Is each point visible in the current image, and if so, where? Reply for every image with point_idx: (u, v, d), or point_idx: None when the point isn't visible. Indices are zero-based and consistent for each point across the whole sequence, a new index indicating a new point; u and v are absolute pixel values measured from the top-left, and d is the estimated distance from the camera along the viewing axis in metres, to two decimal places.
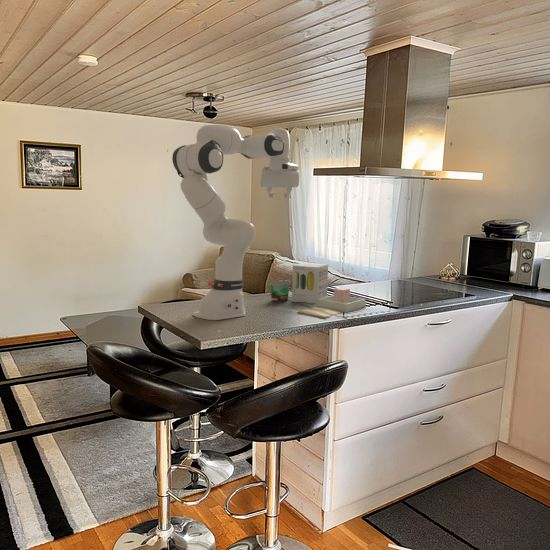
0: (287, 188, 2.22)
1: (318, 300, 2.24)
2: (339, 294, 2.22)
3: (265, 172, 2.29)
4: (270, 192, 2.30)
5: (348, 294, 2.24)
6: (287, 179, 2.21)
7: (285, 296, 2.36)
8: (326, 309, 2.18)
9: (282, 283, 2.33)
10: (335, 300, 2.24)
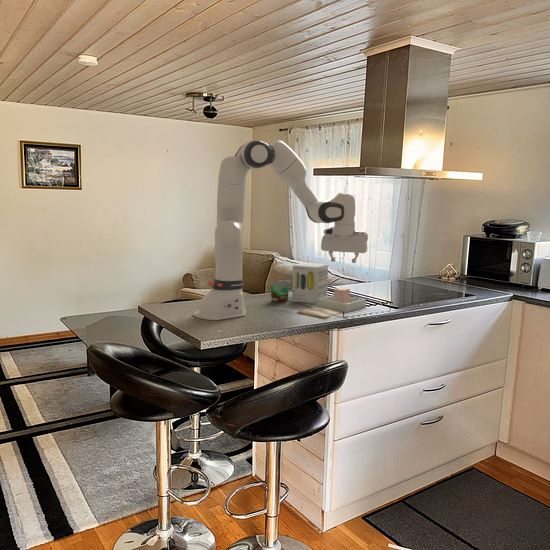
0: None
1: (318, 300, 2.24)
2: (339, 294, 2.22)
3: None
4: None
5: (348, 294, 2.24)
6: None
7: (285, 296, 2.36)
8: (326, 309, 2.18)
9: (282, 283, 2.33)
10: (335, 300, 2.24)
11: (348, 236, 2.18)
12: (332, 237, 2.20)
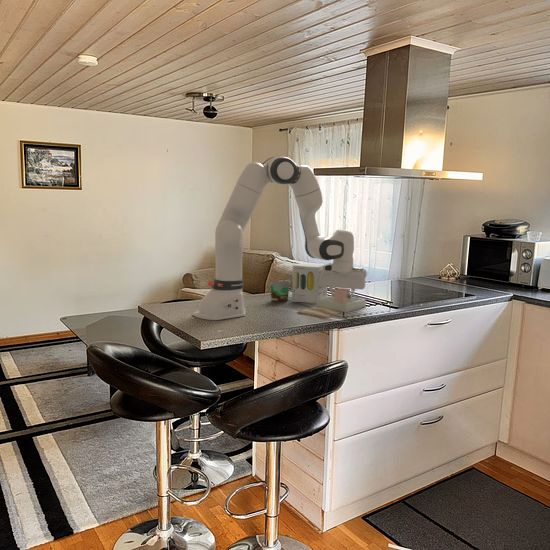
0: None
1: (318, 300, 2.24)
2: (339, 294, 2.22)
3: None
4: (351, 293, 2.23)
5: (348, 294, 2.24)
6: None
7: (285, 296, 2.36)
8: (326, 309, 2.18)
9: (282, 283, 2.33)
10: (335, 300, 2.24)
11: (347, 272, 2.20)
12: (331, 273, 2.22)
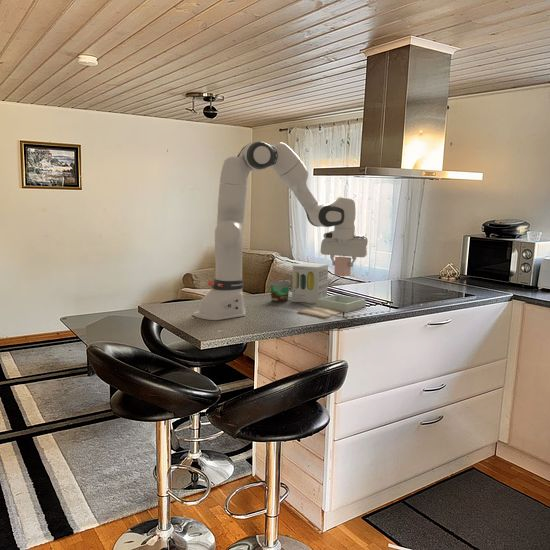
0: None
1: (318, 300, 2.24)
2: (339, 262, 2.20)
3: None
4: None
5: None
6: None
7: (285, 296, 2.36)
8: (326, 309, 2.18)
9: (282, 283, 2.33)
10: (336, 268, 2.22)
11: (348, 240, 2.18)
12: (332, 241, 2.21)
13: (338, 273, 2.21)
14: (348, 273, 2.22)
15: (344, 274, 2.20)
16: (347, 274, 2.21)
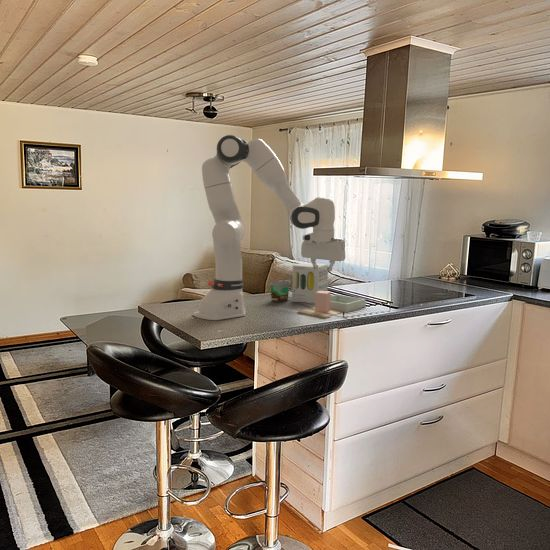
0: None
1: None
2: (321, 297, 2.12)
3: None
4: None
5: (329, 297, 2.15)
6: None
7: (285, 296, 2.36)
8: None
9: (282, 283, 2.33)
10: (317, 304, 2.14)
11: (325, 243, 2.06)
12: (310, 243, 2.10)
13: (320, 309, 2.13)
14: (329, 308, 2.15)
15: (326, 310, 2.13)
16: (328, 309, 2.15)
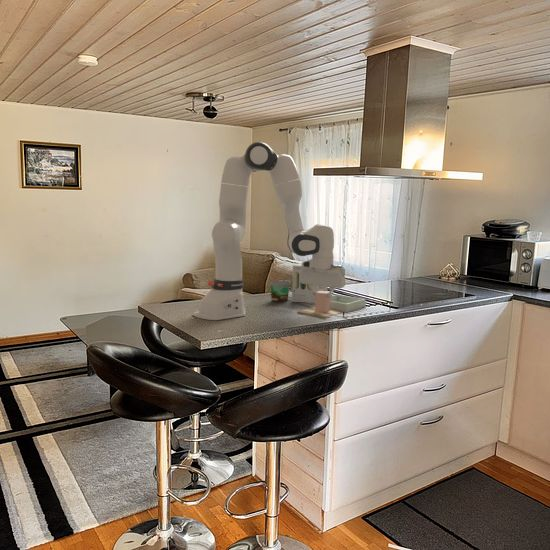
0: None
1: None
2: (321, 297, 2.12)
3: None
4: None
5: None
6: None
7: (285, 296, 2.36)
8: None
9: (282, 283, 2.33)
10: (317, 304, 2.14)
11: (325, 270, 2.08)
12: (310, 270, 2.12)
13: (320, 309, 2.13)
14: (329, 308, 2.15)
15: (326, 310, 2.13)
16: (328, 309, 2.15)
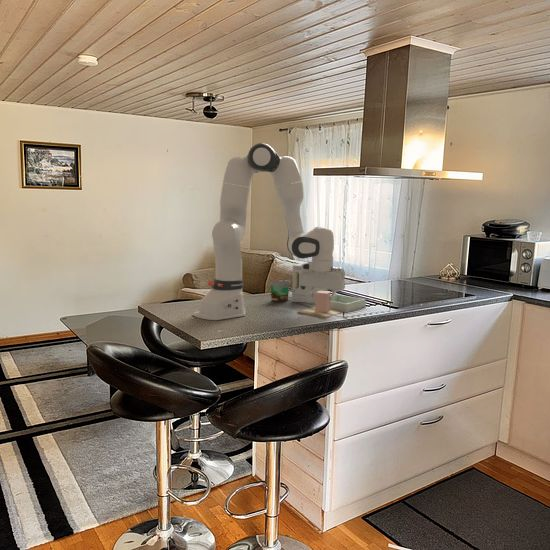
0: None
1: None
2: (321, 297, 2.12)
3: None
4: None
5: None
6: None
7: (285, 296, 2.36)
8: None
9: (282, 283, 2.33)
10: (317, 304, 2.14)
11: (325, 272, 2.08)
12: (309, 272, 2.12)
13: (320, 309, 2.13)
14: (329, 308, 2.15)
15: (326, 310, 2.13)
16: (328, 309, 2.15)
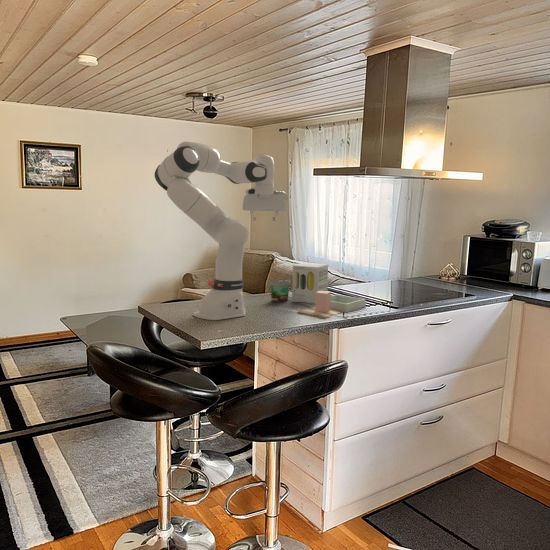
0: None
1: None
2: (321, 297, 2.12)
3: None
4: (275, 216, 2.36)
5: (329, 297, 2.15)
6: None
7: (285, 296, 2.36)
8: None
9: (282, 283, 2.33)
10: (317, 304, 2.14)
11: (269, 195, 2.33)
12: (254, 197, 2.32)
13: (320, 309, 2.13)
14: (329, 308, 2.15)
15: (326, 310, 2.13)
16: (328, 309, 2.15)
